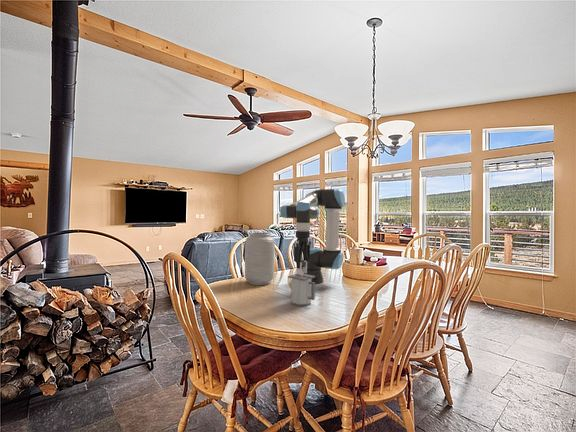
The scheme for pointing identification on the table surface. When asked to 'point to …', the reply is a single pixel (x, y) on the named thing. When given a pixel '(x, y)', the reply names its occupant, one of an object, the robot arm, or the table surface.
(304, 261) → the plunger
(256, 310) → the table surface
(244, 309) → the table surface
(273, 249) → the vase
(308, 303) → the grey french press
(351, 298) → the table surface
